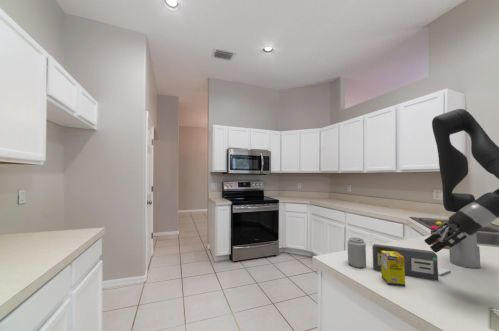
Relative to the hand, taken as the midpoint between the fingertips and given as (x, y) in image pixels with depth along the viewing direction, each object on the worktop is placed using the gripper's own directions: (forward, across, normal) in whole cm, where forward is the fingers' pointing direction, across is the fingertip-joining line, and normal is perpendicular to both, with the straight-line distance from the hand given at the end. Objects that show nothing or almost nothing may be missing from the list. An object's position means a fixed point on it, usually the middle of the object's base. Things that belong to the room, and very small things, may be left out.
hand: (429, 246), depth 75 cm
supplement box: (+19, 0, +3) cm, 20 cm away
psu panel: (+16, -10, +6) cm, 20 cm away
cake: (-2, -65, +25) cm, 69 cm away
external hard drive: (+9, -22, +14) cm, 28 cm away
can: (+28, -10, -6) cm, 31 cm away
